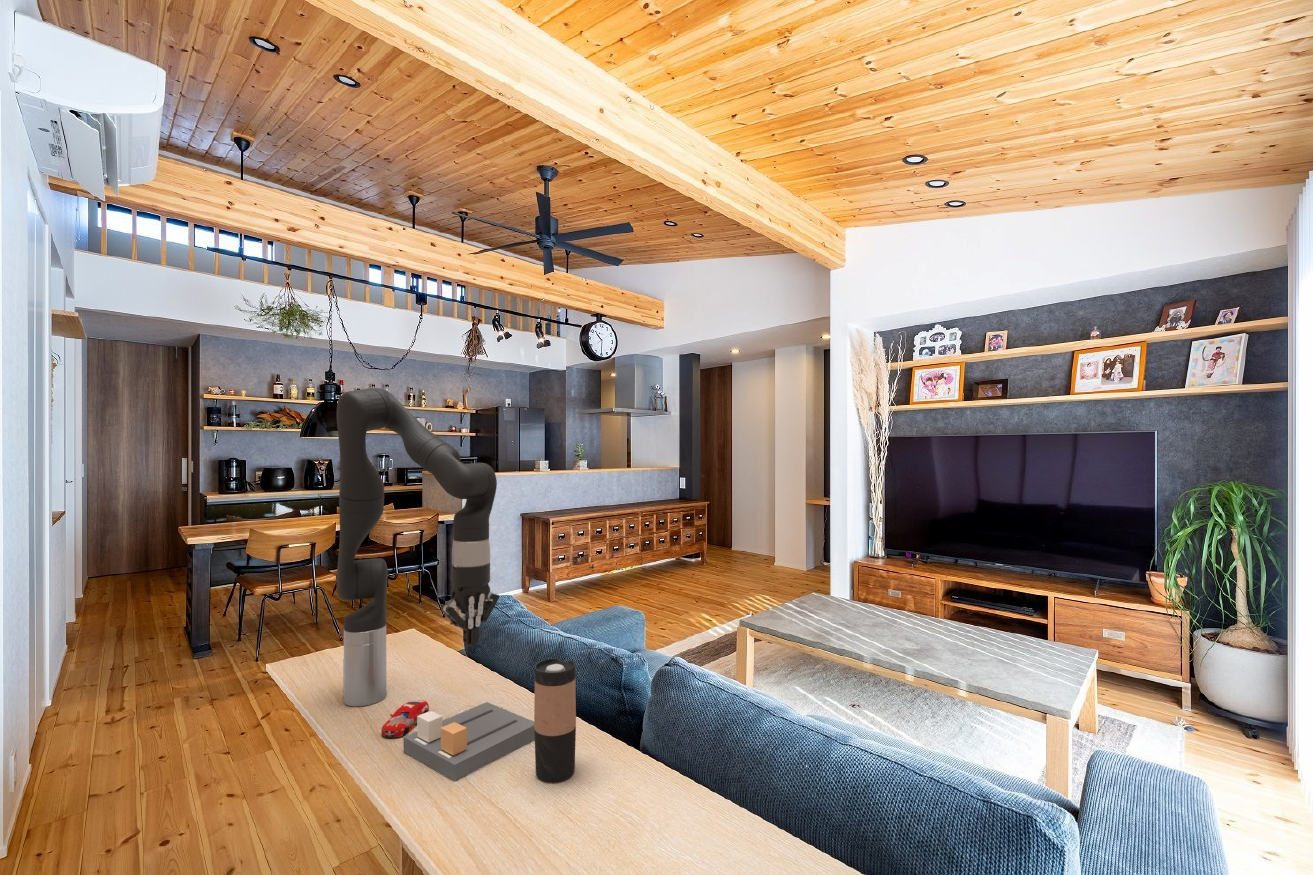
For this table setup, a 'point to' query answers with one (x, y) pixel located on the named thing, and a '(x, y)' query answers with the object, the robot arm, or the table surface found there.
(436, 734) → the fader
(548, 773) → the travel mug
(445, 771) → the console
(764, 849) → the table surface
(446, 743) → the fader
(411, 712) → the race car
